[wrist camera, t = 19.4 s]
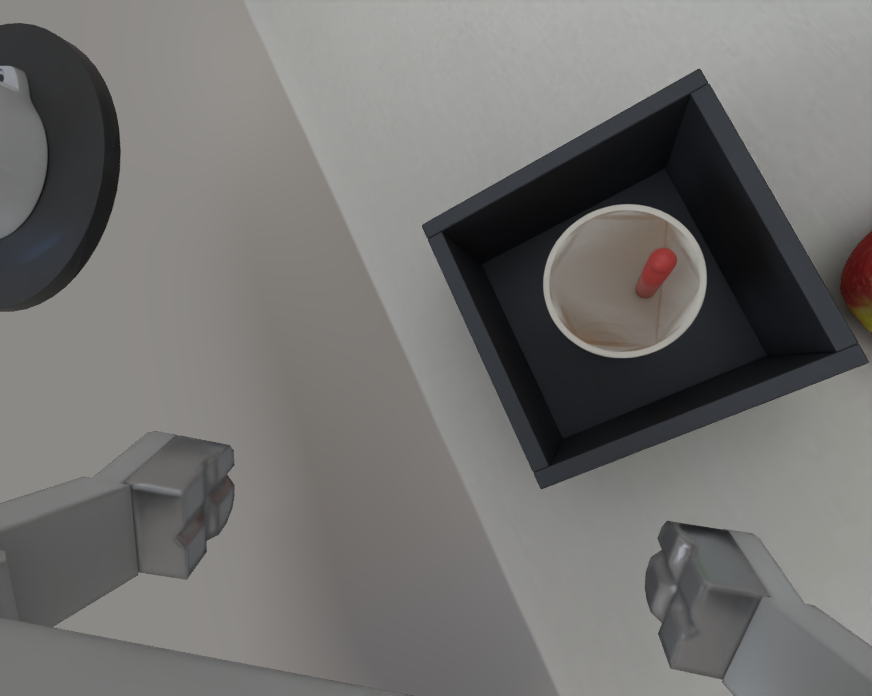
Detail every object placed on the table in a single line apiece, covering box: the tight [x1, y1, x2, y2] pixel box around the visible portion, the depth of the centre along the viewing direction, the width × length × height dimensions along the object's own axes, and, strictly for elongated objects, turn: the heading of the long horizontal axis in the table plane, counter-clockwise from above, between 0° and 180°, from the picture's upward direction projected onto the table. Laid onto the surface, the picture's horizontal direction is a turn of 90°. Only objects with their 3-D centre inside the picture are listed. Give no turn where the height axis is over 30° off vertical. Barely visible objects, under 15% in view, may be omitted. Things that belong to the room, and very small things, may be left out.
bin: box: [422, 69, 869, 489], centre depth 27 cm, size 14×14×10 cm
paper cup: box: [543, 204, 707, 358], centre depth 23 cm, size 6×6×16 cm
